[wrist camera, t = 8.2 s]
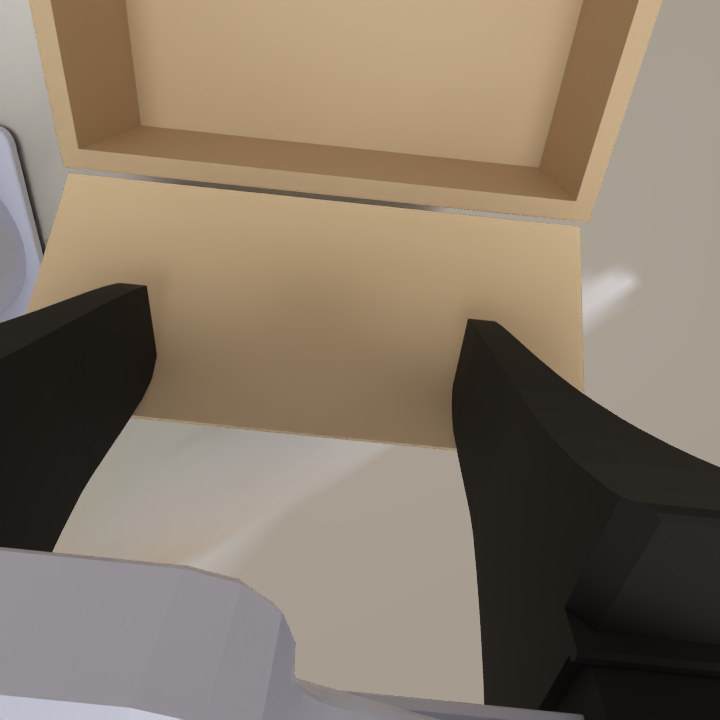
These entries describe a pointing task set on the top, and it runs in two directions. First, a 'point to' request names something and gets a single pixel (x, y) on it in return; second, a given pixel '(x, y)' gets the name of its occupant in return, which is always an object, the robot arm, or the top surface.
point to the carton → (351, 95)
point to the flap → (313, 302)
